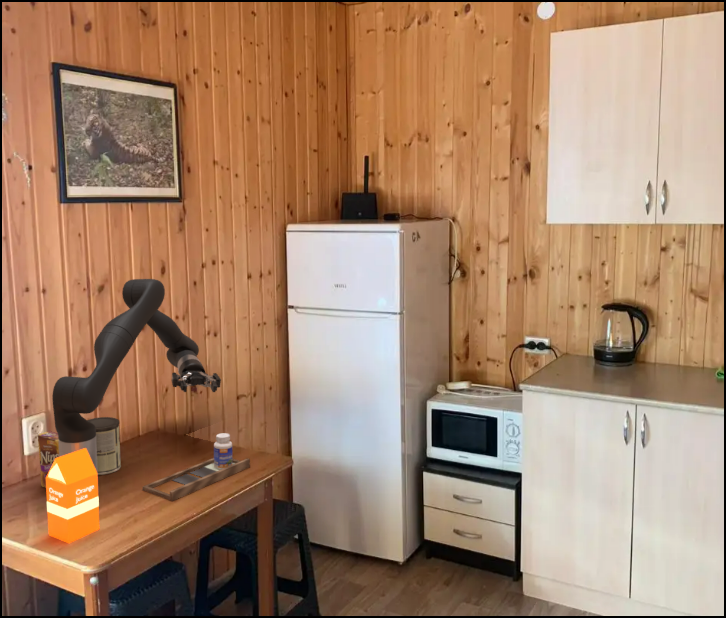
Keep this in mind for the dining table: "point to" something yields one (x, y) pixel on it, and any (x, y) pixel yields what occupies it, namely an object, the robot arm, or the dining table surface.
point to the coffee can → (107, 444)
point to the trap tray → (196, 478)
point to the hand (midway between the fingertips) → (200, 389)
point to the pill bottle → (222, 451)
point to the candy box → (47, 453)
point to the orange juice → (72, 497)
